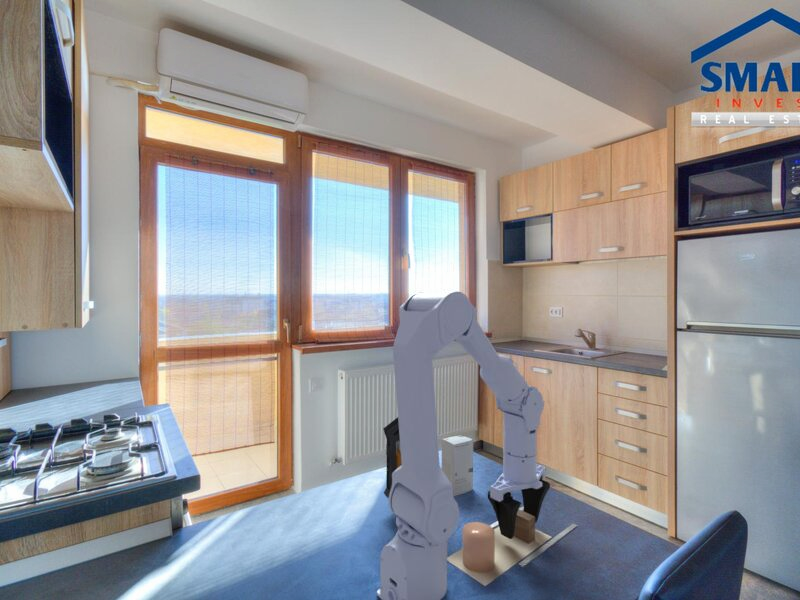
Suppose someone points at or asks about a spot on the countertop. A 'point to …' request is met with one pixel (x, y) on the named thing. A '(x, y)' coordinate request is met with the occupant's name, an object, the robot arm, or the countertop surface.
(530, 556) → the guide rails
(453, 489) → the skincare box
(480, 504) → the countertop surface
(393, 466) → the canister
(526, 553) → the beige board with block
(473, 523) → the tan rounded piece
